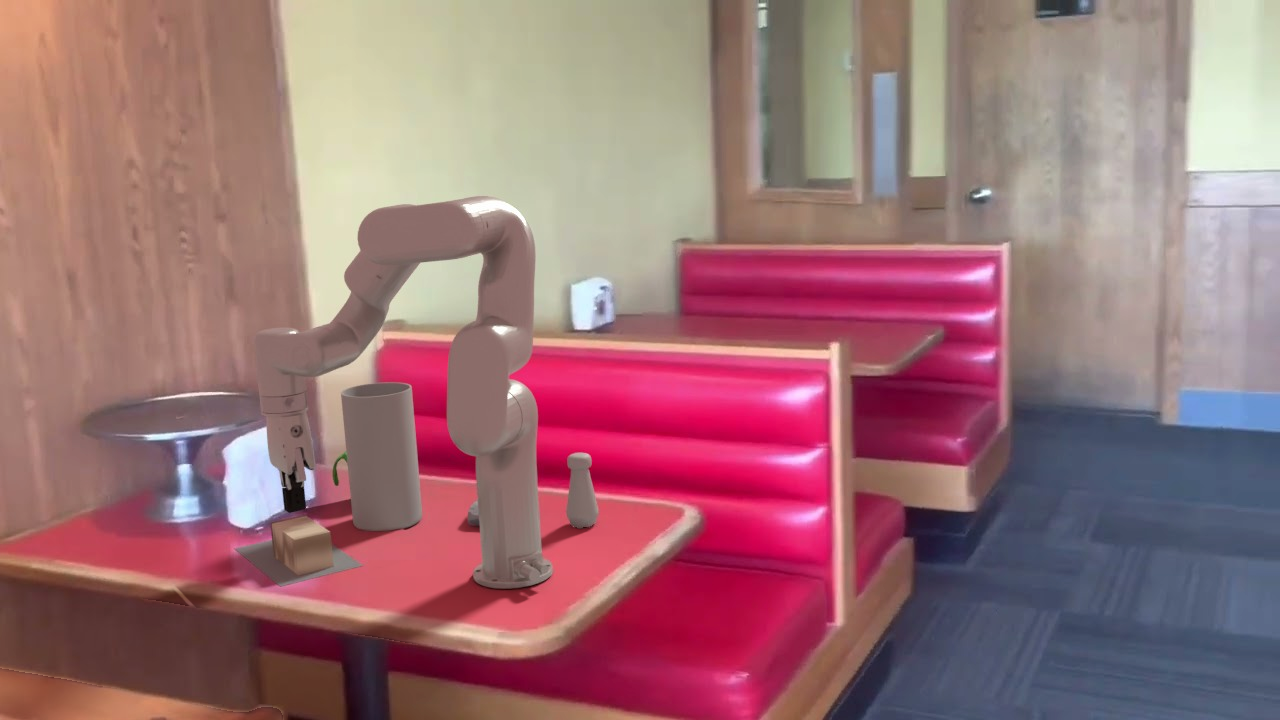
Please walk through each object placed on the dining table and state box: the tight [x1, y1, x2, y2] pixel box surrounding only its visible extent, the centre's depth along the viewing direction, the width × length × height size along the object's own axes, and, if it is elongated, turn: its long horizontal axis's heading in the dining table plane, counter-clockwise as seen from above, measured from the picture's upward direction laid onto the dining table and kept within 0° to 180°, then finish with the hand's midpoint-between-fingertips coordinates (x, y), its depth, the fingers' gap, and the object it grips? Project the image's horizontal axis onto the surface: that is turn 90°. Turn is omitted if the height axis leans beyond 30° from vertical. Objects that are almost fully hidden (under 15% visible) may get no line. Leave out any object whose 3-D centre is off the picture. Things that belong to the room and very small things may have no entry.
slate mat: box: [234, 539, 364, 587], centre depth 209 cm, size 24×14×1 cm, turn 35°
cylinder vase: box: [340, 381, 423, 532], centre depth 225 cm, size 12×12×25 cm
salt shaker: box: [565, 452, 600, 529], centre depth 219 cm, size 6×6×13 cm
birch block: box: [269, 514, 334, 575], centre depth 206 cm, size 6×6×12 cm
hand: (295, 509), depth 206 cm, fingers closed
